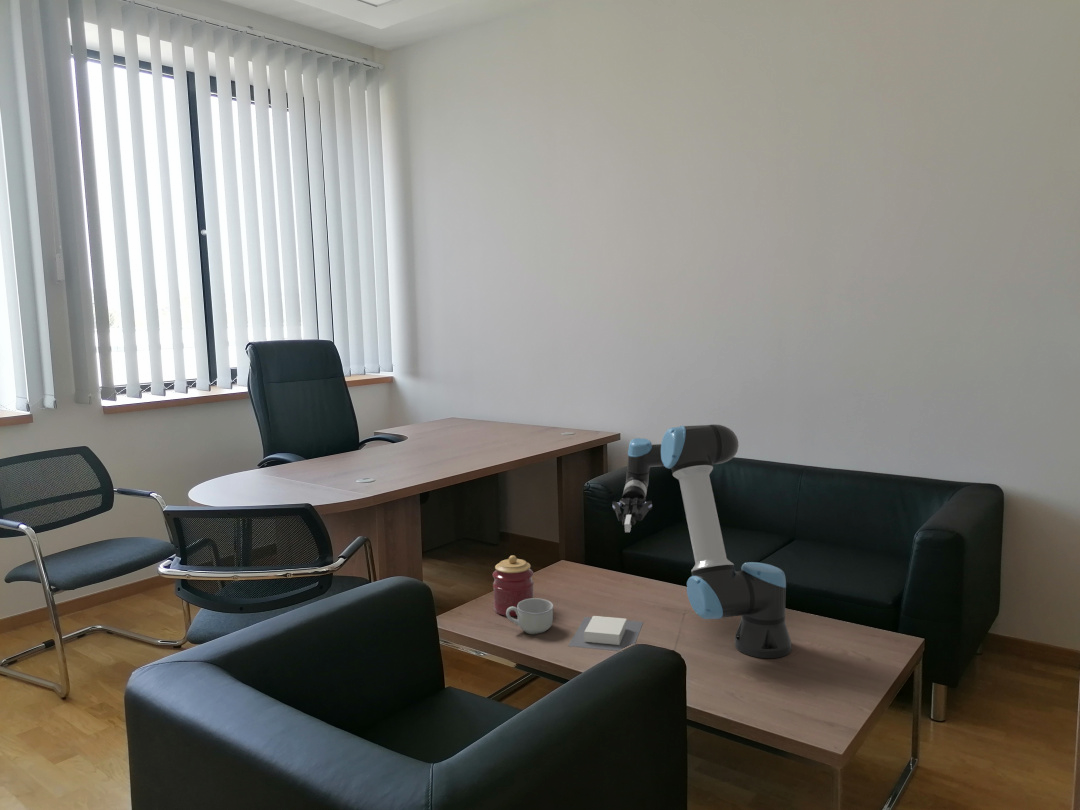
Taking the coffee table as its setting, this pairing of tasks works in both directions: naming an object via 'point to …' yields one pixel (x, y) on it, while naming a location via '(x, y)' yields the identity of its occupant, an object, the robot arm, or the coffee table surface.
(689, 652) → the coffee table surface
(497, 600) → the canister
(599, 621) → the tile
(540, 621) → the teacup
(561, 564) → the coffee table surface
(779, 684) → the coffee table surface
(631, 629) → the mat
